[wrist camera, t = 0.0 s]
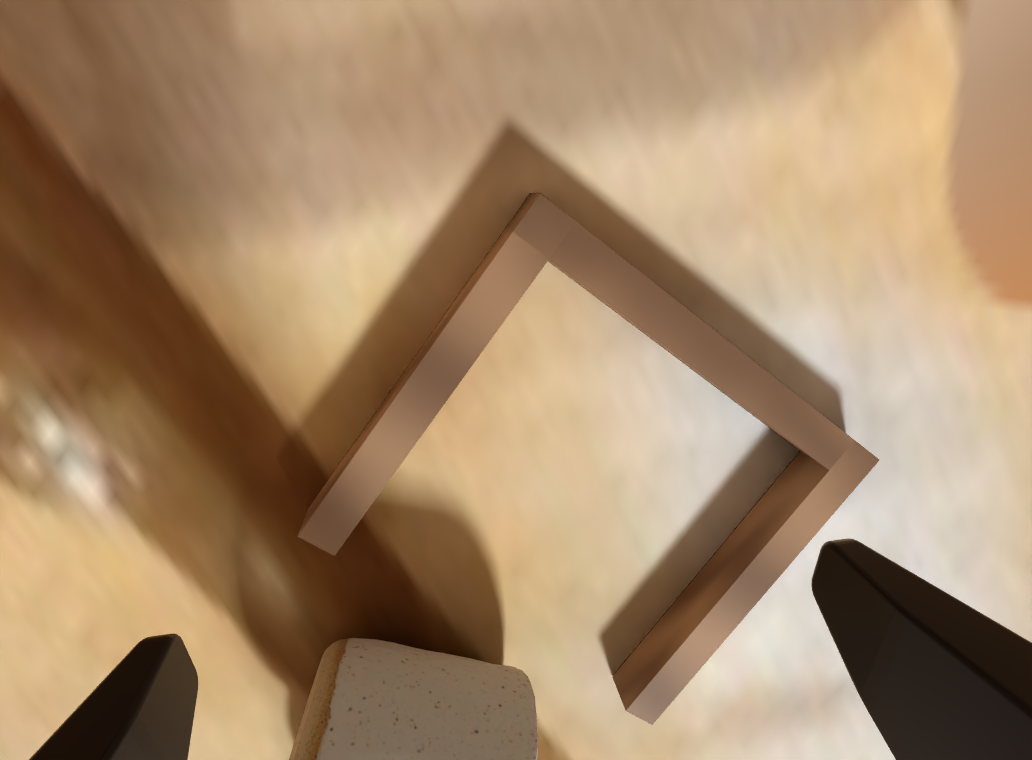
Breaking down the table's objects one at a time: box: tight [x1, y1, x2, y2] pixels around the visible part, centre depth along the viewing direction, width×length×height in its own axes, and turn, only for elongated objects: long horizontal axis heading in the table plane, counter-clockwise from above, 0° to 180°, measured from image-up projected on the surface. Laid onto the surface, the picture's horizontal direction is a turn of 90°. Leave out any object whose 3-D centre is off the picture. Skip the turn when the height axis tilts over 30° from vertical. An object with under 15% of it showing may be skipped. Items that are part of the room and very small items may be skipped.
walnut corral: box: [297, 193, 879, 725], centre depth 25 cm, size 14×17×2 cm
